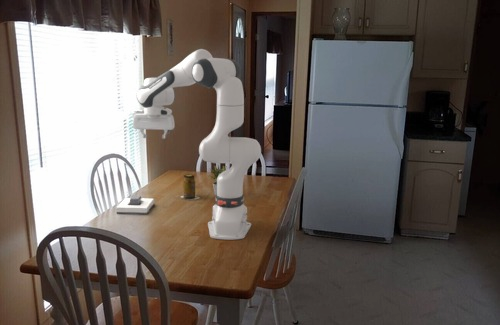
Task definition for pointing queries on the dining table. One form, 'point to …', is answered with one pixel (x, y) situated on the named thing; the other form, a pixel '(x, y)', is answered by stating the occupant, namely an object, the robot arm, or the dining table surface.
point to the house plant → (216, 173)
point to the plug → (135, 200)
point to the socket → (135, 206)
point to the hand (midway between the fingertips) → (154, 138)
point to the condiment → (189, 187)
